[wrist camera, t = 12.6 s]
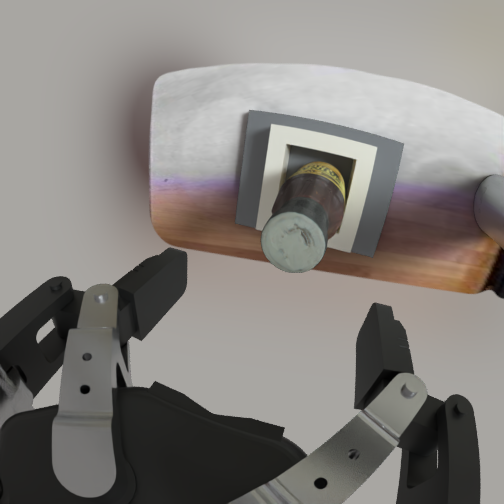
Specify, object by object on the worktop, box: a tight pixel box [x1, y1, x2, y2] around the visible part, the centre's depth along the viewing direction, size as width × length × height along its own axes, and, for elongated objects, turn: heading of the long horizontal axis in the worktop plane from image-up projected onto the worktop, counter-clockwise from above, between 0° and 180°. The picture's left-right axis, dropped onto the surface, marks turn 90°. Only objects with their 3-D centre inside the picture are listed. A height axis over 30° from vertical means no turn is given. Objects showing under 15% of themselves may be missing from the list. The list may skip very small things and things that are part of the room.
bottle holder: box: [235, 110, 404, 258], centre depth 32 cm, size 20×16×6 cm
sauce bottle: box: [261, 161, 345, 273], centre depth 24 cm, size 6×6×20 cm
